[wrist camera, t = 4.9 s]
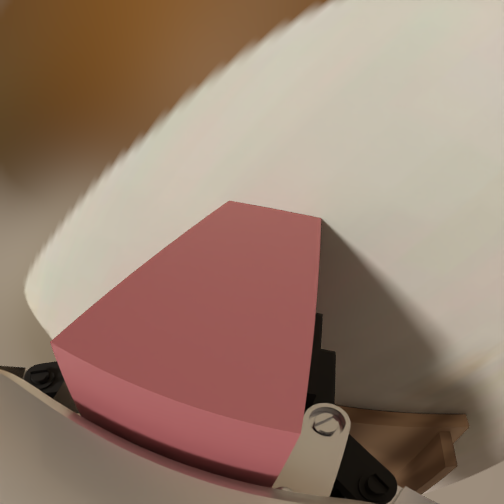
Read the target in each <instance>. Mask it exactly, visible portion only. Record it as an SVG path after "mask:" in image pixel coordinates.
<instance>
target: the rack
mask: <svg viewBox="0 0 504 504" xmlns="http://www.w3.org/2000/svg"><path fill="white" fill-rule="evenodd" d="M336 406H337V405H336ZM338 407H340V408H341V409H343V410H344V411H345V412H346V413H347V415H348V416H349V419H350V422H351V425H350V431H349V434H350V435H351V436H352V437H353V438H354V439H355V440H356V441H357V442H358V443H360V444H361V445H362V446H363V447H364V448H365V449H366V450H367V451H368V452H369V453H370V454H371V455H372V456H373V457H375V458H376V459H377V460H378V461H379V462H380V463H381V464H382V465H383V466H384V467H386V468H387V469H388V470H389V471H390V472H391V473H392V474H393V475H394V477H395V479H396V481H397V485H398V486H400V487H402V488H404V487H405V486H406V487H408V488H410V489H412V490H413V491H415V492H417V493H419V494H423V493H424V492H425V491H427V490H428V489H429V488H431V487H432V486H433V485H435V484H436V483H437V482H439V481H440V480H441V479H442V478H444V477H445V476H446V475H447V474H448V473H450V472H451V471H452V470H453V469H454V468H456V467H457V461H456V456H455V451H454V446H453V444H454V442H455V441H456V440H457V439H458V438H459V437H460V436H461V435H462V434H463V433H464V432H465V431H466V430H467V429H468V428H469V423H468V420H467V417H466V414H416V413H400V412H388V411H377V410H368V409H359V408H351V407H344V406H338Z"/></svg>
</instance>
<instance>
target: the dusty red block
mask: <svg viewBox="0 0 504 504" xmlns="http://www.w3.org/2000/svg"><path fill="white" fill-rule="evenodd" d="M320 238H321V218H317V217H312V216H308V215H303V214H298V213H293V212H287V211H282V210H277V209H272V208H267V207H261V206H256V205H250V204H245V203H239V202H233V201H228V202H227V203H225V204H224V205H222V206H221V207H220V208H218V209H217V210H215V211H214V212H213V213H211V214H210V215H208V216H207V217H206V218H204V219H203V220H202V221H200V222H199V223H197V224H196V225H195V226H193V227H192V228H191V229H189V230H188V231H187V232H185V233H184V234H183V235H181V236H180V237H178V238H177V239H176V240H175V241H173V242H172V243H171V244H169V245H168V246H167V247H165V248H164V249H163V250H161V251H160V252H159V253H157V254H156V255H155V256H154V257H152V258H151V259H150V260H148V261H147V262H146V263H145V264H143V265H142V266H141V267H139V268H138V269H137V270H136V271H134V272H133V273H132V274H131V275H129V276H128V277H127V278H126V279H124V280H123V281H122V282H121V283H119V284H118V285H117V286H116V287H114V288H113V289H112V290H111V291H109V292H108V293H107V294H106V295H105V296H103V297H102V298H101V299H100V300H99V301H97V302H96V303H95V304H94V305H93V306H91V307H90V308H89V309H88V310H87V311H85V312H84V313H83V314H82V315H81V316H79V317H78V318H77V319H76V320H75V321H74V322H72V323H71V324H70V325H69V326H68V327H67V328H66V329H64V330H63V331H62V332H61V333H60V334H59V335H58V336H56V337H55V338H54V339H53V340H52V341H51V342H50V343H51V346H52V349H53V351H54V354H55V357H56V360H57V363H58V365H59V368H60V370H61V373H62V375H63V378H64V380H65V382H66V385H67V387H68V389H69V392H70V394H71V396H72V398H73V400H74V403H75V405H76V407H77V409H78V411H79V413H80V415H81V416H82V417H83V418H85V419H87V420H89V421H90V422H92V423H94V424H96V425H98V426H99V427H101V428H103V429H105V430H107V431H109V432H111V433H113V434H115V435H117V436H119V437H121V438H123V439H125V440H127V441H129V442H132V443H134V444H136V445H138V446H140V447H143V448H145V449H147V450H149V451H152V452H154V453H157V454H159V455H162V456H164V457H167V458H169V459H172V460H174V461H177V462H180V463H183V464H185V465H188V466H191V467H194V468H197V469H200V470H203V471H207V472H210V473H213V474H216V475H220V476H223V477H227V478H230V479H234V480H238V481H242V482H246V483H250V484H255V485H259V486H264V487H269V488H272V486H273V484H274V483H275V481H276V479H277V477H278V476H279V474H280V472H281V470H282V469H283V467H284V465H285V463H286V461H287V459H288V458H289V456H290V454H291V452H292V450H293V448H294V446H295V444H296V442H297V440H298V438H299V436H300V434H301V430H302V423H303V417H304V410H305V403H306V396H307V388H308V380H309V372H310V364H311V355H312V346H313V336H314V326H315V314H316V302H317V289H318V275H319V258H320Z"/></svg>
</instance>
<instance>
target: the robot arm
mask: <svg viewBox="0 0 504 504" xmlns="http://www.w3.org/2000/svg"><path fill="white" fill-rule="evenodd" d="M322 317H323V315H322V314H319V313H316V314H315V326H314V336H313V346H312V355H311V364H310V372H309V380H308V388H307V396H306V403H305V410H304V417H303V423H302V430H301V434H300V436H299V438H298V440H297V442H296V444H295V446H294V448H293V450H292V452H291V454H290V456H289V458H288V459H287V461H286V463H285V465H284V467H283V469H282V470H281V472H280V474H279V476H278V477H277V479H276V481H275V483H274V484H273V486H272V488H269V487H264V486H259V485H255V484H250V483H246V482H242V481H238V480H234V479H230V478H227V477H223V476H220V475H216V474H213V473H210V472H207V471H203V470H200V469H197V468H194V467H191V466H188V465H185V464H183V463H180V462H177V461H174V460H172V459H169V458H167V457H164V456H162V455H159V454H157V453H154V452H152V451H149V450H147V449H145V448H143V447H140V446H138V445H136V444H134V443H132V442H129V441H127V440H125V439H123V438H121V437H119V436H117V435H115V434H113V433H111V432H109V431H107V430H105V429H103V428H101V427H99V426H98V425H96V424H94V423H92V422H90V421H89V420H87V419H85V418H83V417H82V416H81V415H80V413H79V411H78V409H77V407H76V405H75V403H74V400H73V398H72V396H71V394H70V392H69V389H68V387H67V385H66V382H65V380H64V378H63V375H62V373H61V370H60V368H59V365H58V363H57V362H50V363H43V364H38V365H34V366H33V367H31V368H30V369H28V370H26V368H23V367H9V366H0V504H438V503H436V502H434V501H432V500H430V499H428V498H426V497H425V496H423V495H421V494H419V493H417V492H415V491H413V490H412V489H410V488H408V487H406V486H405V487H404V488H402V487H400V486H398V485H397V481H396V479H395V477H394V475H393V474H392V473H391V472H390V471H389V470H388V469H387V468H386V467H384V466H383V465H382V464H381V463H380V462H379V461H378V460H377V459H376V458H375V457H373V456H372V455H371V454H370V453H369V452H368V451H367V450H366V449H365V448H364V447H363V446H362V445H361V444H360V443H358V442H357V441H356V440H355V439H354V438H353V437H352V436H351V435H350V434H349V431H350V425H351V422H350V419H349V416H348V415H347V413H346V412H345V411H344V410H343V409H341V408H340V407H338V406H336V405H334V397H335V362H336V355H335V352H334V351H328V350H323V349H321V334H322Z"/></svg>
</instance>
